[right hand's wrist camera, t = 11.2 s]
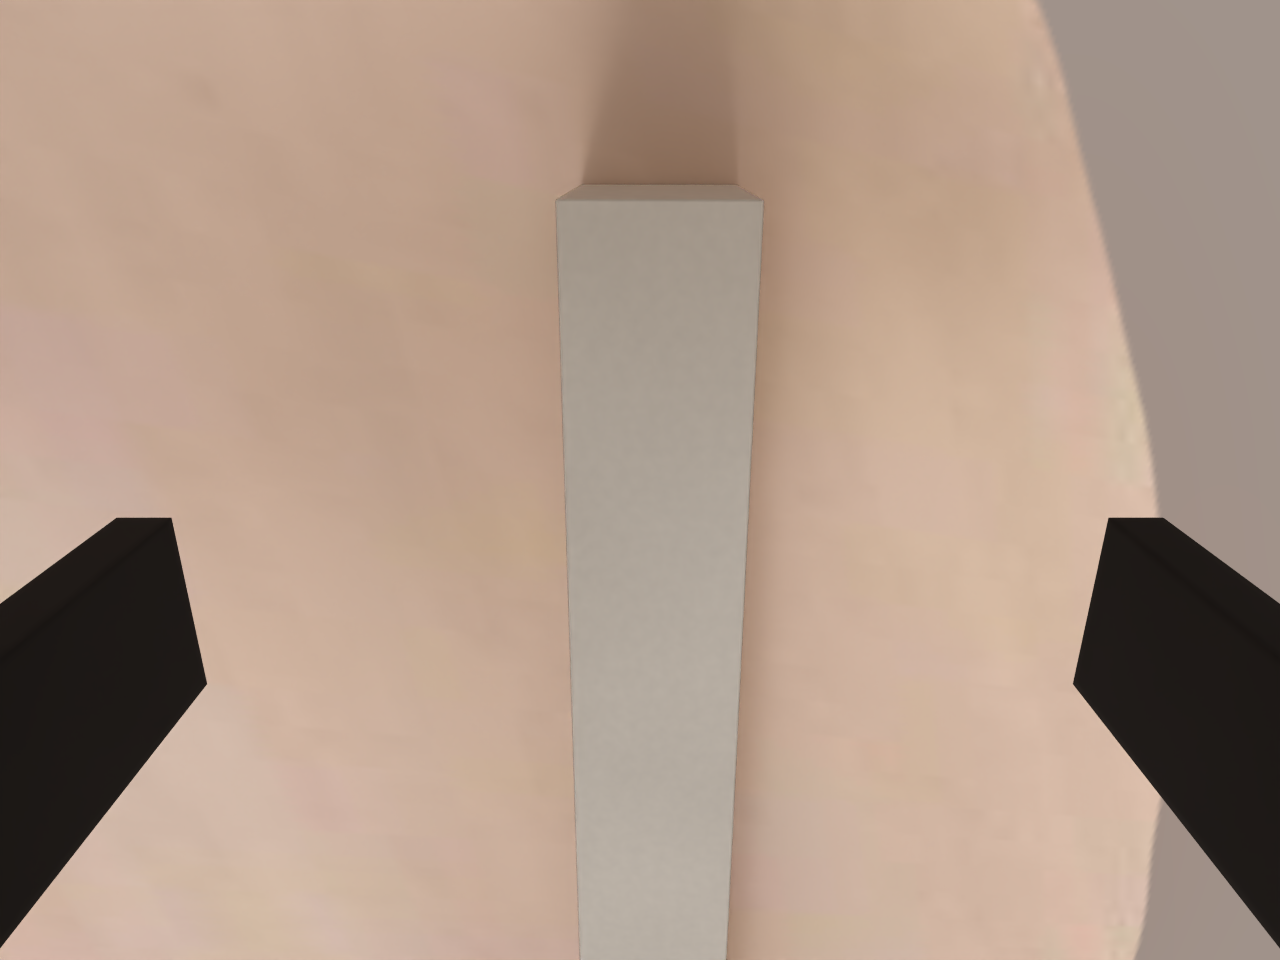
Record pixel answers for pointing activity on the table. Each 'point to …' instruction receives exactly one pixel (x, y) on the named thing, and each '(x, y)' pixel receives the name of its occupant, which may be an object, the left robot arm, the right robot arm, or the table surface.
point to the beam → (656, 550)
